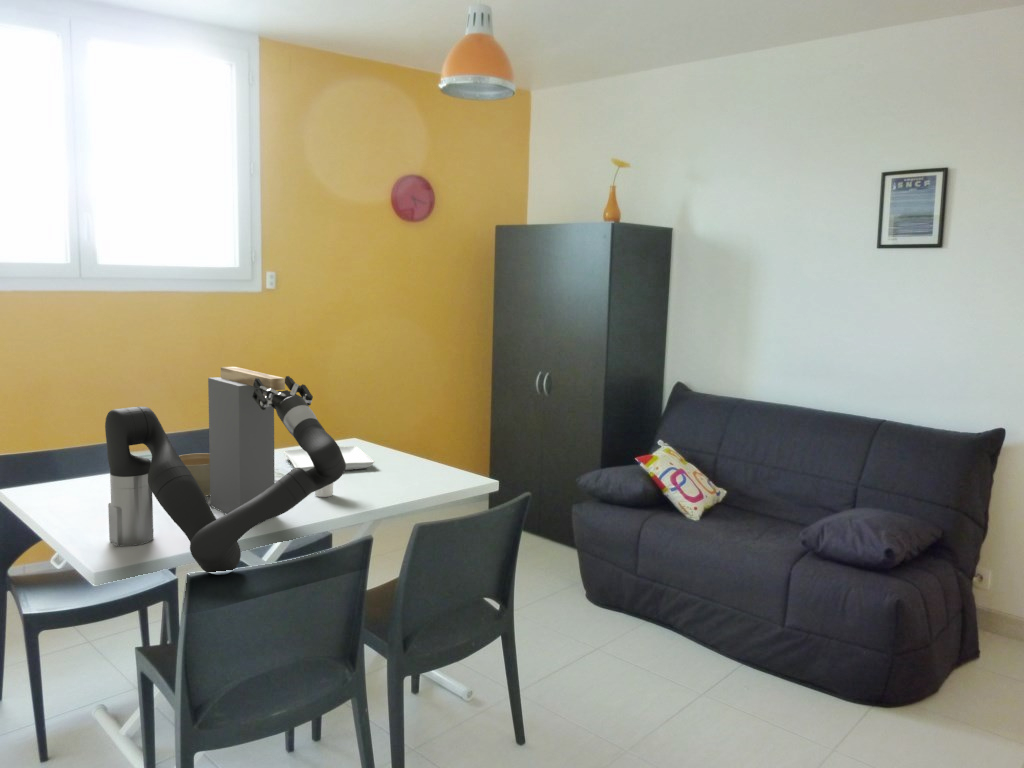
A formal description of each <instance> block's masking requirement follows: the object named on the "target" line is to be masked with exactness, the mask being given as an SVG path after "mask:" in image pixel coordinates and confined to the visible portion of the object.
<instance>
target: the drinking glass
mask: <svg viewBox="0 0 1024 768" xmlns="http://www.w3.org/2000/svg"><path fill="white" fill-rule="evenodd" d="M313 467H314V464H313ZM333 495H334V482H333V483H332V484H330V485H327V486H325V487H323V488H321V489H319V490H317V491H314V496H315V497H318V498H329V497H332V496H333Z"/></svg>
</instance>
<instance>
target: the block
mask: <svg viewBox="0 0 1024 768" xmlns="http://www.w3.org/2000/svg"><path fill="white" fill-rule="evenodd" d="M220 377H221V378H223V379H227V380H231V381H235V382H239V383H243V384H247V385H251V386H253V383H254V380H255V378H259V379H260V381H261V382H262V384H263V385H264V387H266V388H268V389H270V388H271V389H274V390H276V391H285V390H286V384H285V378H286V377H282V376H278V375H273V374H268V373H264V372H260V371H257V370H255V371H254V370H251V369H247V368H244V367H243V368H242V367H239V366H220Z"/></svg>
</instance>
